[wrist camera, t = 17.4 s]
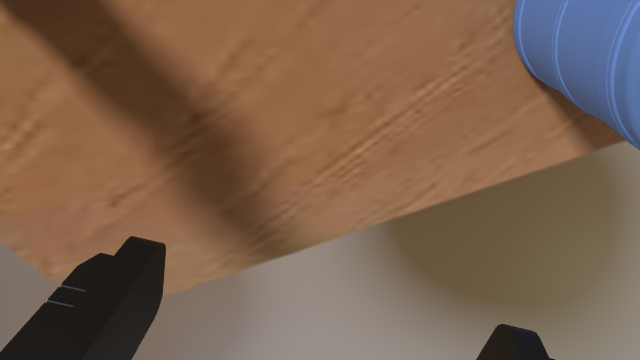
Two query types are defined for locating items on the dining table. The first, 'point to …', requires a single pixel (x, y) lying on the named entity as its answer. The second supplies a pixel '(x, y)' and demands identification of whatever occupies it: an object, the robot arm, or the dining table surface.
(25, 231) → the dining table surface
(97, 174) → the dining table surface
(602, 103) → the water jug
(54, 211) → the dining table surface
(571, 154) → the dining table surface
